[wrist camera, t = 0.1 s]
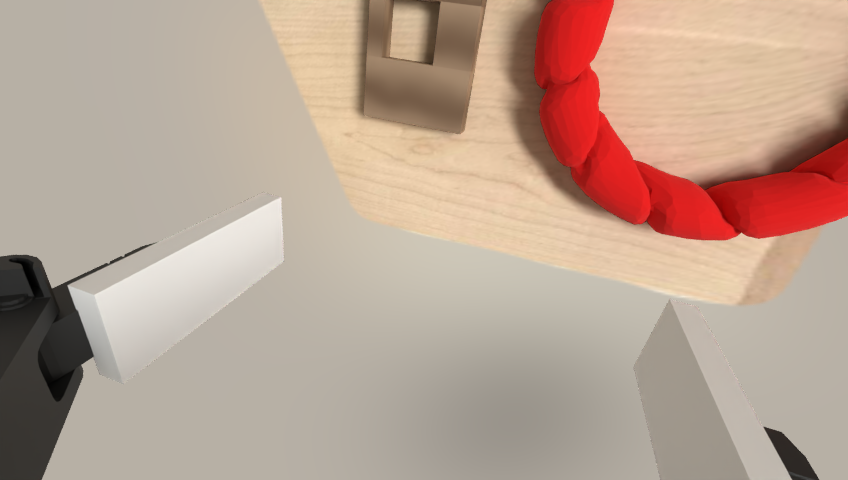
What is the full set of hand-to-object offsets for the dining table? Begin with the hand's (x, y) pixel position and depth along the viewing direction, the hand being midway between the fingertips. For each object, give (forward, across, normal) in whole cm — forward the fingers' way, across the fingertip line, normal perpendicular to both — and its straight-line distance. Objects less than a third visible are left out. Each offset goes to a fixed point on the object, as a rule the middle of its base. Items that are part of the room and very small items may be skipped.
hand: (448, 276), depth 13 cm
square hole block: (+28, -10, +5) cm, 30 cm away
